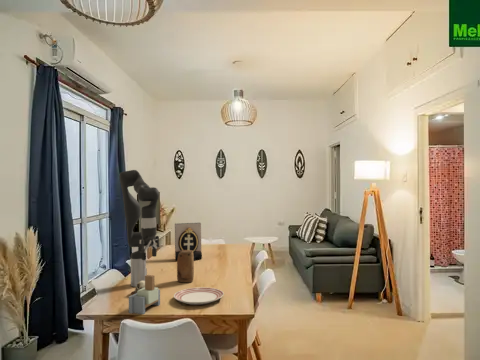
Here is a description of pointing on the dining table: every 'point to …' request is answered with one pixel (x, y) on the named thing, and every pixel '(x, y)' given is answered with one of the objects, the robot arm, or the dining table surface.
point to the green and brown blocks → (149, 290)
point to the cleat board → (140, 303)
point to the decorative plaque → (188, 239)
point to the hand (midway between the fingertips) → (149, 258)
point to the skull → (138, 287)
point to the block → (185, 266)
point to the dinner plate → (198, 295)
